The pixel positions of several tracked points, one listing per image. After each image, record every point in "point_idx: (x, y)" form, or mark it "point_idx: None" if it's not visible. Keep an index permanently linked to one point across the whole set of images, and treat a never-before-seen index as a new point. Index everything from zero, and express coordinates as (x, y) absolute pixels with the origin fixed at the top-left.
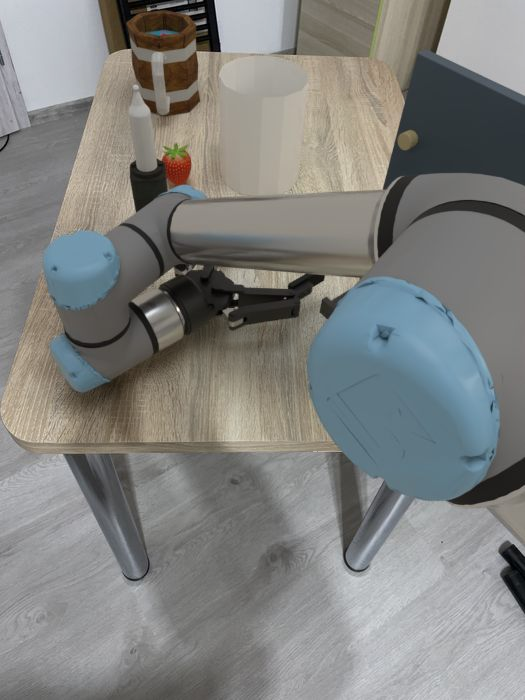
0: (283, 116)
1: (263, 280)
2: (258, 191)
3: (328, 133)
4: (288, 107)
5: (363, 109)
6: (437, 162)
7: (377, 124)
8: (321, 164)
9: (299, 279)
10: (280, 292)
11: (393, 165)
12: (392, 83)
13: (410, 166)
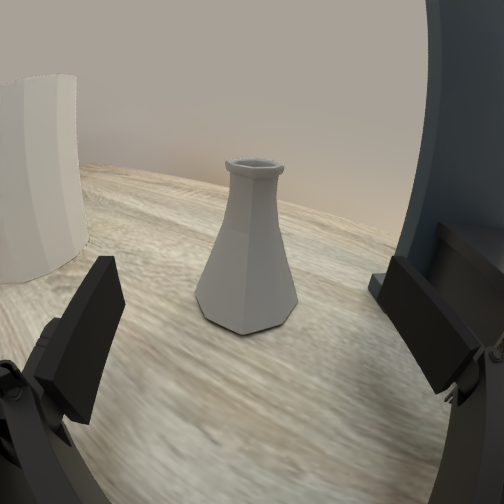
0: (56, 107)
1: (229, 421)
2: (47, 262)
3: (86, 193)
4: (62, 95)
5: (101, 176)
6: (484, 6)
7: (122, 176)
8: (102, 209)
9: (452, 317)
10: (498, 385)
11: (444, 2)
12: (108, 164)
13: (464, 6)
